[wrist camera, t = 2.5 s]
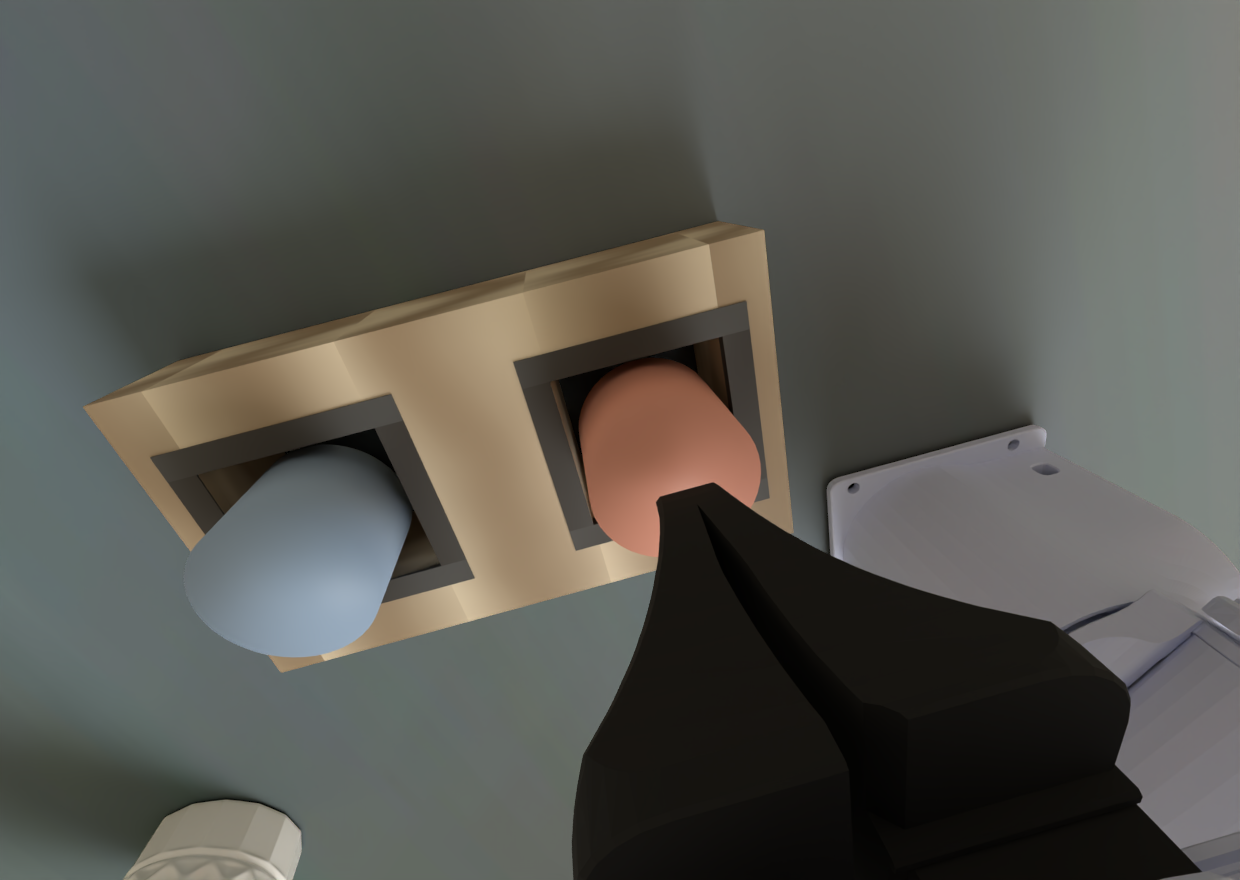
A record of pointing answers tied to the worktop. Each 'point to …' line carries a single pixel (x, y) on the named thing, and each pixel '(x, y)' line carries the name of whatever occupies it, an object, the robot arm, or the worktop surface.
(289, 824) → the white cup
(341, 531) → the blue peg
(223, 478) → the peg block
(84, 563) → the worktop surface
